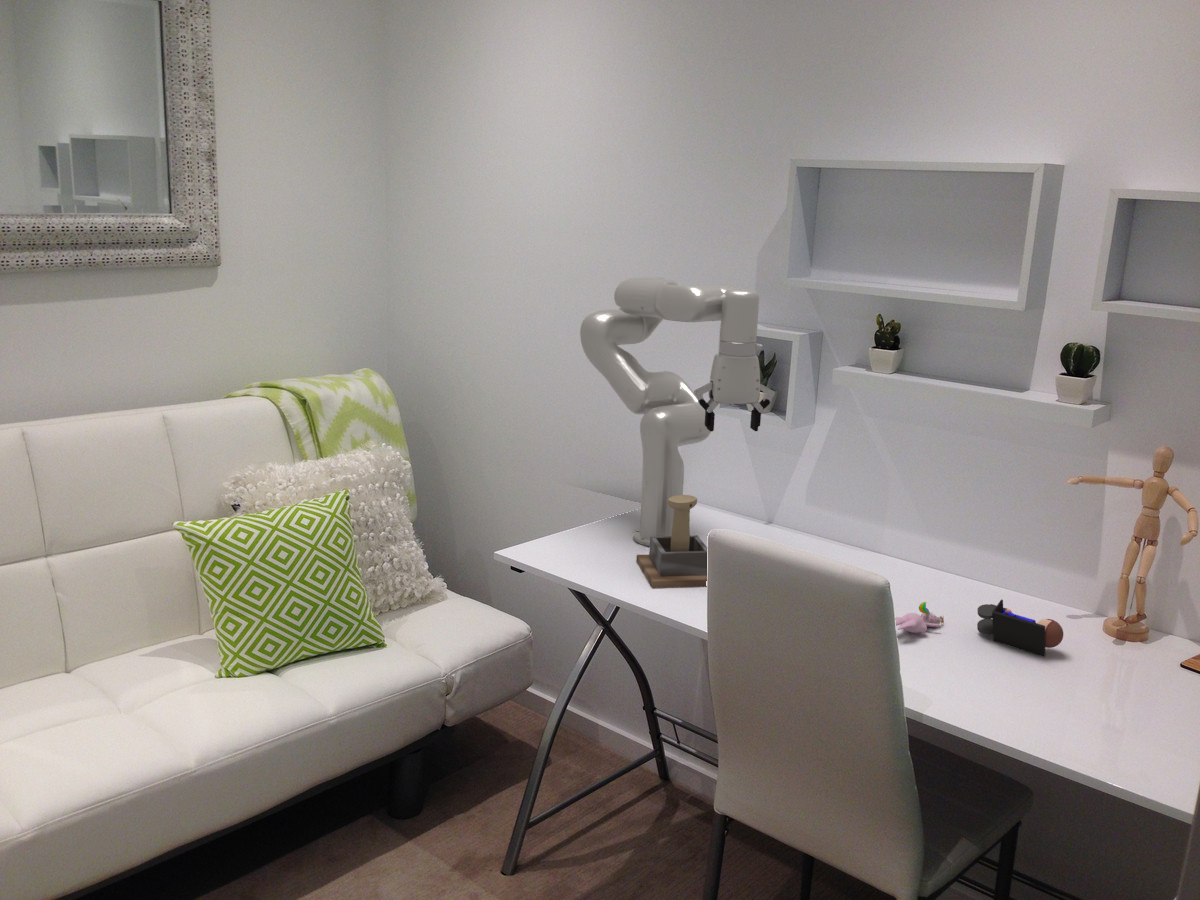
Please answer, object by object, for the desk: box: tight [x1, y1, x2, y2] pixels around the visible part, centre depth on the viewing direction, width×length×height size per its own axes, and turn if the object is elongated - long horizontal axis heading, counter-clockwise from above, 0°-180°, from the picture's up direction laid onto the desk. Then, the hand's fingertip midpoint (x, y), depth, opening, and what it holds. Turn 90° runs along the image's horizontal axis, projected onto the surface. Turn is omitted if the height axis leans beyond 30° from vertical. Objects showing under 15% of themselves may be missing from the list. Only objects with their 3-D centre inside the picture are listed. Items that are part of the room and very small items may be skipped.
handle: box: [668, 494, 698, 552], centre depth 219 cm, size 5×6×15 cm
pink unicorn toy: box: [894, 601, 945, 634], centre depth 195 cm, size 6×6×15 cm
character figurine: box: [976, 599, 1064, 658], centre depth 190 cm, size 8×7×15 cm
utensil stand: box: [635, 535, 708, 589], centre depth 220 cm, size 16×15×6 cm
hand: (732, 429), depth 219 cm, fingers open, 9 cm apart
